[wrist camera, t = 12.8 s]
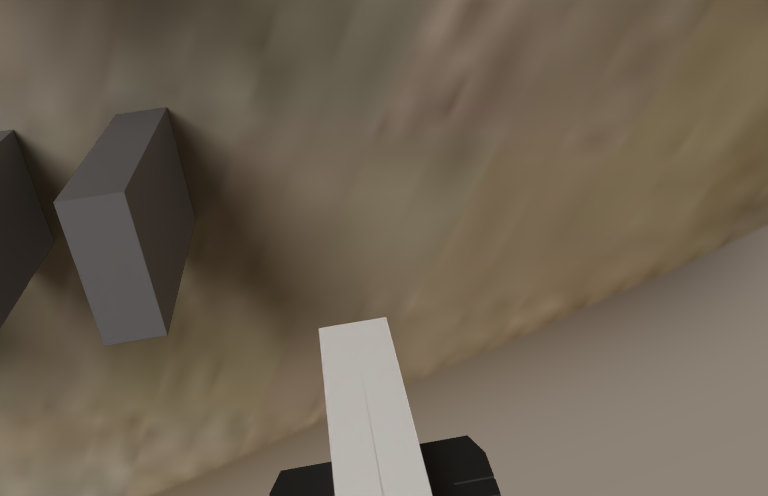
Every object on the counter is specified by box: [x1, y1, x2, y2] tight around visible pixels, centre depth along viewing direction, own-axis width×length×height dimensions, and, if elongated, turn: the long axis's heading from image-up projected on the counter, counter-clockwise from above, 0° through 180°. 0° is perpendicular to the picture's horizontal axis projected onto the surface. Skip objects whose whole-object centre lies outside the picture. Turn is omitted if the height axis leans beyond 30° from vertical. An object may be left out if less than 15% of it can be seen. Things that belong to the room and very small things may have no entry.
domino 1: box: [53, 107, 196, 346], centre depth 26 cm, size 5×2×9 cm, turn 7°
